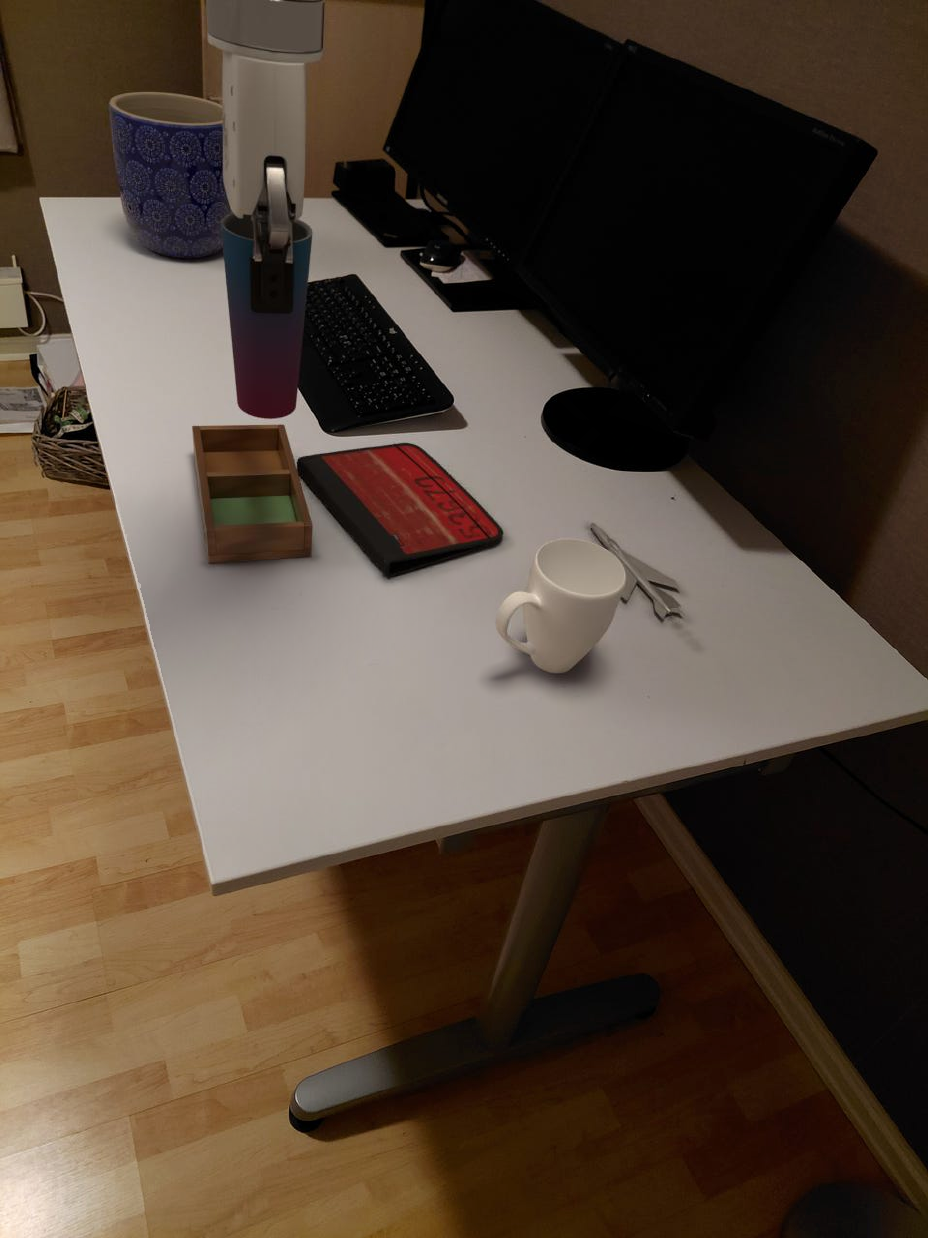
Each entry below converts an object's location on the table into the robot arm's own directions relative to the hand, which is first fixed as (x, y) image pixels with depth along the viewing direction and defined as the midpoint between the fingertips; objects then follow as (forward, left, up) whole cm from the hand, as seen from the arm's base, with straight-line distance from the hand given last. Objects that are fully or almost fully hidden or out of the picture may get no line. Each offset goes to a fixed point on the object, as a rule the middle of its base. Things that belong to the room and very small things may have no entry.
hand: (266, 291), depth 67 cm
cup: (0, 0, -10) cm, 10 cm away
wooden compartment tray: (-1, +10, -27) cm, 29 cm away
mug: (+23, -18, -28) cm, 40 cm away
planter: (-3, +85, -28) cm, 89 cm away
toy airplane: (+39, -8, -28) cm, 48 cm away
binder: (+16, +8, -28) cm, 33 cm away
